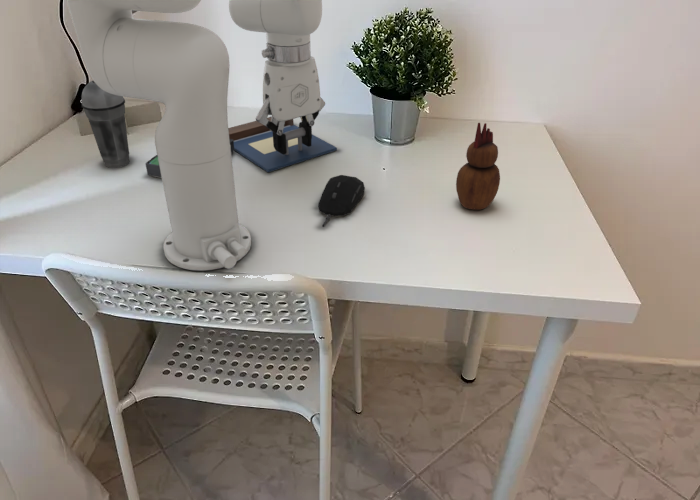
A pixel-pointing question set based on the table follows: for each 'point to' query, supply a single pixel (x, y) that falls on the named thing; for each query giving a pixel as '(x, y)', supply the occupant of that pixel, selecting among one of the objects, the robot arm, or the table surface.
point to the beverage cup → (107, 124)
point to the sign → (269, 159)
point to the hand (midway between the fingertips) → (293, 147)
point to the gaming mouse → (340, 196)
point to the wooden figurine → (479, 172)
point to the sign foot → (251, 129)
